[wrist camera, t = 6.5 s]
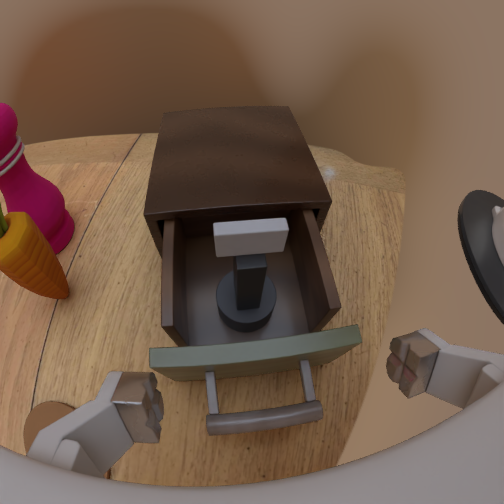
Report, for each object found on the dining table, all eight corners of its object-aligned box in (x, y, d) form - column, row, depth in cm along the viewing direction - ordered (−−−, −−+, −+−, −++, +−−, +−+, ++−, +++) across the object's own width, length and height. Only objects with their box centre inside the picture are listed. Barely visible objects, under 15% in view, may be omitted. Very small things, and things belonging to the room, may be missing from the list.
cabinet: (308, 261, 27) (332, 201, 20) (167, 273, 26) (143, 214, 18) (280, 163, 35) (288, 106, 27) (173, 170, 33) (163, 112, 26)
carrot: (68, 327, 22) (-38, 238, 9) (42, 302, 23) (-49, 213, 10) (94, 287, 24) (10, 178, 12) (66, 266, 25) (-9, 165, 12)
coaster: (104, 408, 18) (101, 408, 18) (119, 509, 13) (116, 511, 12) (24, 395, 17) (21, 394, 17) (34, 484, 12) (30, 484, 11)
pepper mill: (49, 271, 25) (-54, 131, 8) (25, 244, 26) (-56, 123, 9) (88, 225, 28) (16, 72, 11) (60, 205, 30) (-2, 76, 13)
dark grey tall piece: (268, 279, 23) (286, 190, 15) (277, 328, 21) (306, 261, 12) (216, 284, 23) (203, 196, 14) (220, 335, 21) (206, 270, 12)
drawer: (338, 410, 19) (376, 407, 13) (179, 431, 17) (154, 439, 12) (297, 228, 28) (310, 179, 22) (172, 238, 27) (158, 189, 21)
